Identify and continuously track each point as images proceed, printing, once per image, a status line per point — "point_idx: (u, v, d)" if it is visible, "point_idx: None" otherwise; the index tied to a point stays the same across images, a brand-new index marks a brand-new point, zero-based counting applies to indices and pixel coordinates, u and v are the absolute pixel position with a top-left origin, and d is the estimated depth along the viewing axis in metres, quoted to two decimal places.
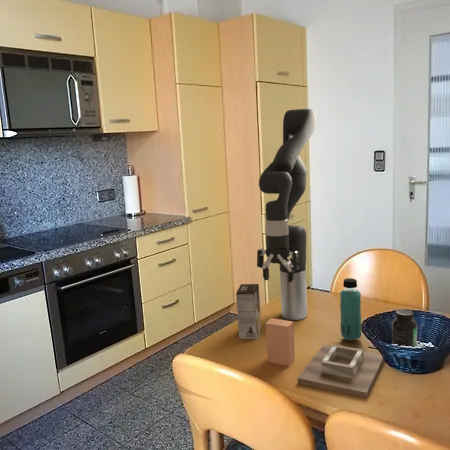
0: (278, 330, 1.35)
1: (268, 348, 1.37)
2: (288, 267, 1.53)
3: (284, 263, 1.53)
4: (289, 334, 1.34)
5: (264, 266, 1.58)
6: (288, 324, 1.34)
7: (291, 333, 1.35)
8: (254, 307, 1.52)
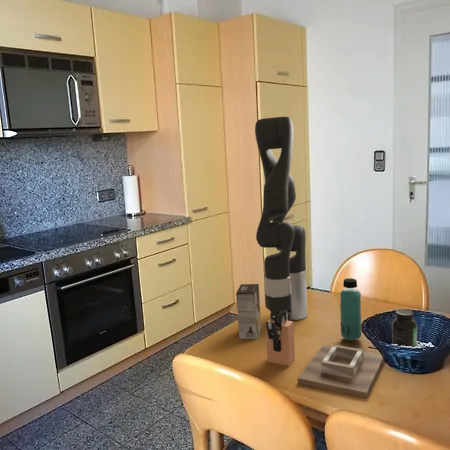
0: None
1: (268, 348, 1.37)
2: None
3: None
4: (289, 334, 1.34)
5: (280, 335, 1.34)
6: (288, 324, 1.34)
7: (291, 333, 1.35)
8: (254, 307, 1.52)
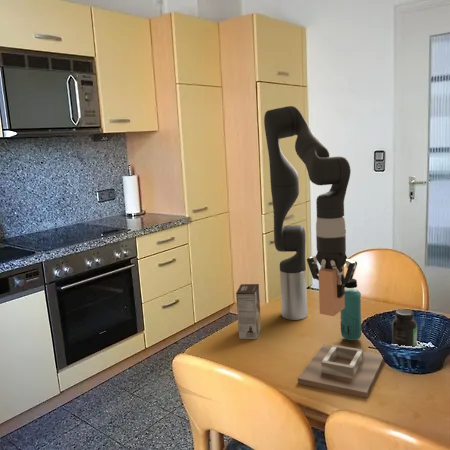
0: None
1: (334, 300, 1.24)
2: None
3: None
4: None
5: None
6: None
7: None
8: (254, 307, 1.52)
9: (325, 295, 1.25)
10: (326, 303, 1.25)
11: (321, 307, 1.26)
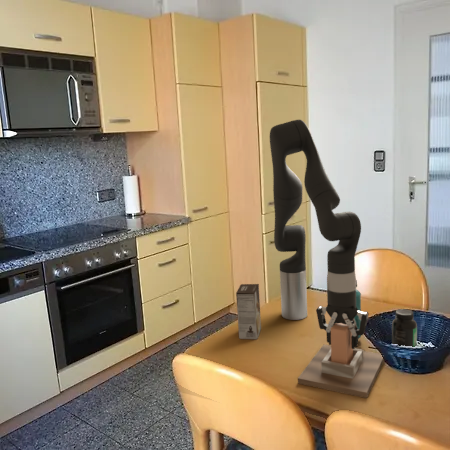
0: (349, 330, 1.28)
1: (346, 357, 1.26)
2: None
3: None
4: None
5: None
6: None
7: None
8: (254, 307, 1.52)
9: (337, 352, 1.26)
10: (338, 360, 1.27)
11: None
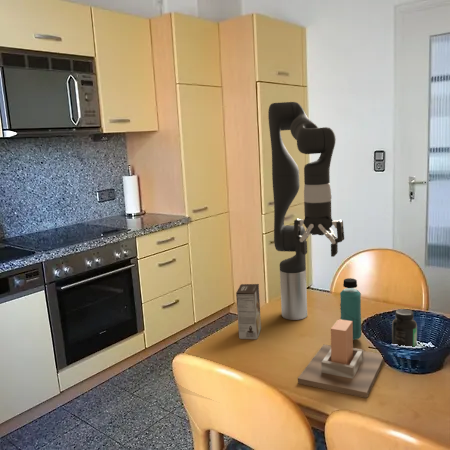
0: (349, 330, 1.28)
1: (346, 357, 1.26)
2: None
3: None
4: None
5: None
6: (346, 321, 1.30)
7: None
8: (254, 307, 1.52)
9: (337, 352, 1.26)
10: (338, 360, 1.27)
11: None
